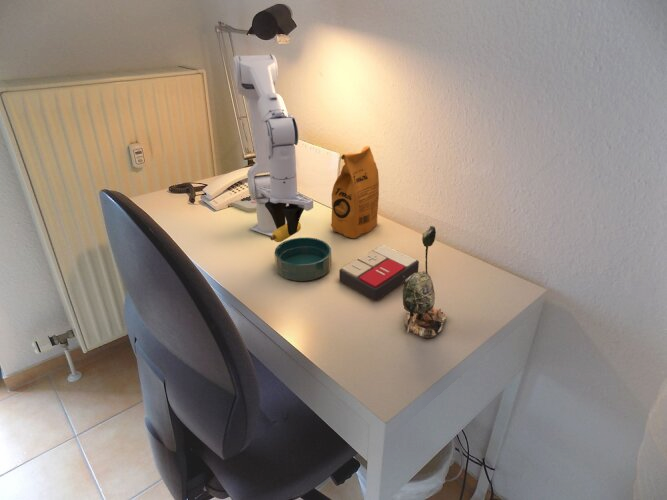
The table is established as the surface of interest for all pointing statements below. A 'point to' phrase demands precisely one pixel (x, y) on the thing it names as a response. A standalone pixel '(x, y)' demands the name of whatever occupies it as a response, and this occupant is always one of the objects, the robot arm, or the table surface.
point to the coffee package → (356, 195)
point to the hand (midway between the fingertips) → (286, 231)
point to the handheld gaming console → (245, 204)
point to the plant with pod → (422, 298)
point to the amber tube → (282, 233)
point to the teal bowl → (303, 259)
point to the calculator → (378, 271)
